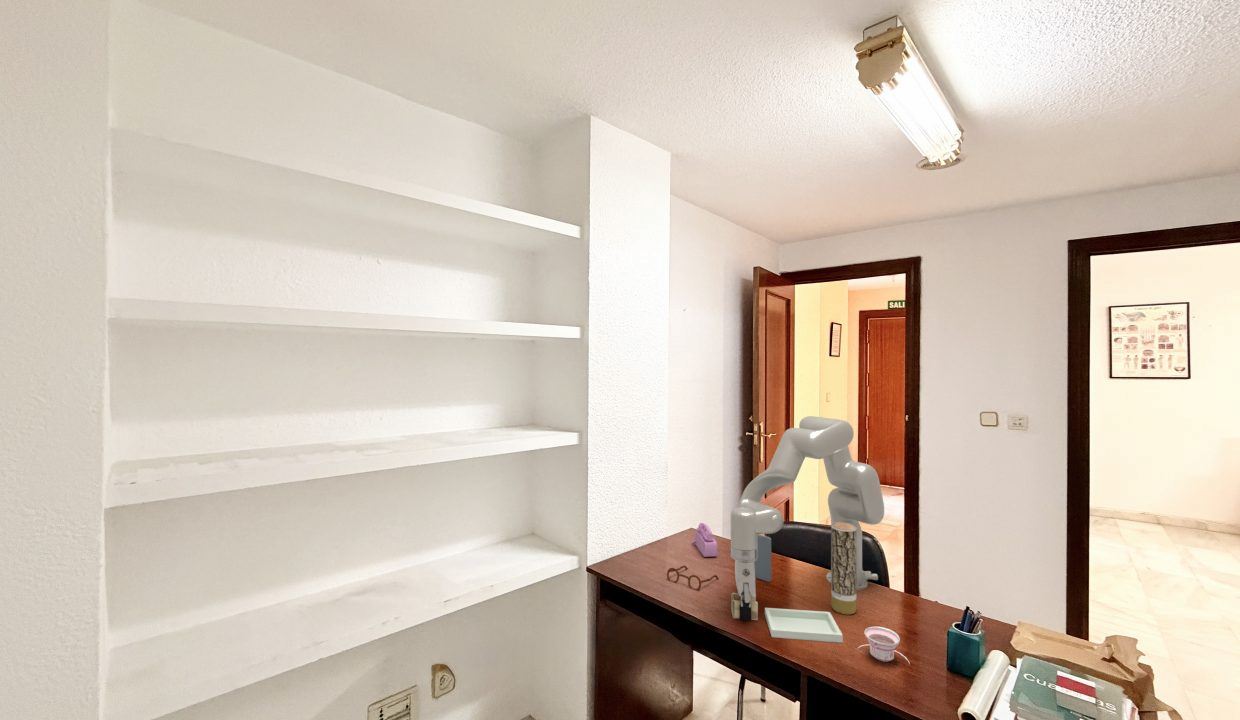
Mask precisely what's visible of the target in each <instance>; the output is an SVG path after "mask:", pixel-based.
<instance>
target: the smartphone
mask: <svg viewBox="0 0 1240 720" xmlns="http://www.w3.org/2000/svg"><path fill="white" fill-rule="evenodd" d="M754 565H755V579H759V580H762V581H765V582H768V583H770V582H771V581H772V538H771V537H770V536H766V535H762V534H758V535H757V560H756V561H754Z"/></svg>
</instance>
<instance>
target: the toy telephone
mask: <svg viewBox="0 0 1240 720" xmlns="http://www.w3.org/2000/svg"><path fill="white" fill-rule="evenodd" d="M696 530H697V531H695V533H694V534H695V535H694V540H692V541H691V544H695V545H696V548H697V549H698V551H699V552H700V554H701V555H702V556H703V557H704V558H705V557H706V558H708V557H717V556H718V550H719V549H718V543H717V541H716V539H715V538H714V537H713V536H714V535H713V533H712V531H711V529H710V527H709V526H708V524H706V523H703V522H700V523H699V525H698V527H697V528H696Z"/></svg>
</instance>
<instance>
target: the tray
mask: <svg viewBox="0 0 1240 720" xmlns="http://www.w3.org/2000/svg"><path fill="white" fill-rule="evenodd" d="M764 617H765V620H766V624H767V628H768V630H769V633H770V637H771V638H776V639H778V638H779V639H787V640H788V639H789V640H800V641H801V640H802V641H814V642H822V643H823V642H824V643H837V644H843V642H844V641H843V640H844V637H843V636H844V635H843V633H842V631H841V629H840V628H839V626H838V624H837V622H836V620H835V619H834V617H833V615H832V613H831V612H830V611H821V610H820V611H819V610H807V609H805V610H804V609H803V610H802V609H790V608H777V607H776V608H775V607H764Z"/></svg>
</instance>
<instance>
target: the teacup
mask: <svg viewBox="0 0 1240 720" xmlns="http://www.w3.org/2000/svg"><path fill="white" fill-rule="evenodd" d="M863 633H864V636H865V638H866V639H867V642H868V643H869V644H867V643H866V644H862V645H860V646H858V647H857V649H859V648H861V647H865V646H869V653H870V655H871V656H872V657H874V658H875V659H876V660H878V661H881V662H883V663H885V662H886V663H887V662H890V661H893V660H894V659H895V652H896V653H897V654H899V655H900V656H902V657H903V658H905V660H906V661H907V662H908V664H909V665H910V661H909V660H908V658H907V657H906V656H905V655H904V654H902V653H901V652H899V651H897V650H896V649H897V646H898V645H899V644H900V642H901V641H900V640H901V639H900V638H901V637H900V636H899V635H898V633H897V632H895V630H892V629H890V628H887V627H883V626H870V627H866V628H865V629H864V632H863Z"/></svg>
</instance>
